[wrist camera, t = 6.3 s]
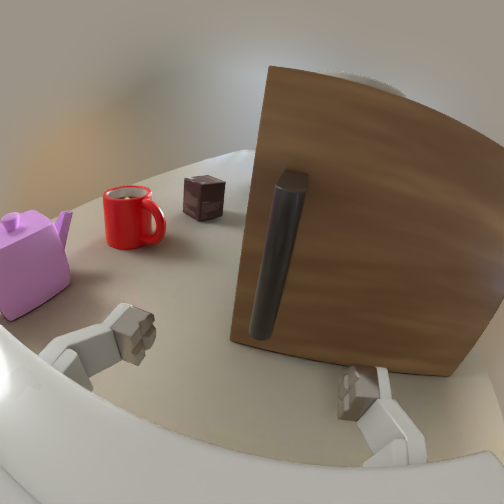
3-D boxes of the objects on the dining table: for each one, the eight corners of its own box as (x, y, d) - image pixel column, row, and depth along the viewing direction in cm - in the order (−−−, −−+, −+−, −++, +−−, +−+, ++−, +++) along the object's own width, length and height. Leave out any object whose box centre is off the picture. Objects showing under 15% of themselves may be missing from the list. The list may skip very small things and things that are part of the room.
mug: (150, 263, 36) (148, 209, 32) (97, 240, 39) (93, 194, 36) (180, 242, 43) (182, 195, 39) (128, 224, 46) (127, 182, 42)
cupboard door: (461, 414, 18) (586, 201, 6) (210, 385, 21) (248, 40, 10) (448, 370, 23) (542, 178, 12) (232, 333, 27) (270, 68, 16)
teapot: (63, 249, 35) (54, 186, 30) (98, 273, 32) (89, 199, 27) (-26, 298, 20) (-49, 230, 16) (-8, 340, 17) (-44, 259, 12)
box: (223, 216, 55) (226, 181, 51) (198, 222, 51) (200, 184, 47) (205, 207, 58) (208, 174, 55) (182, 211, 54) (183, 177, 51)
